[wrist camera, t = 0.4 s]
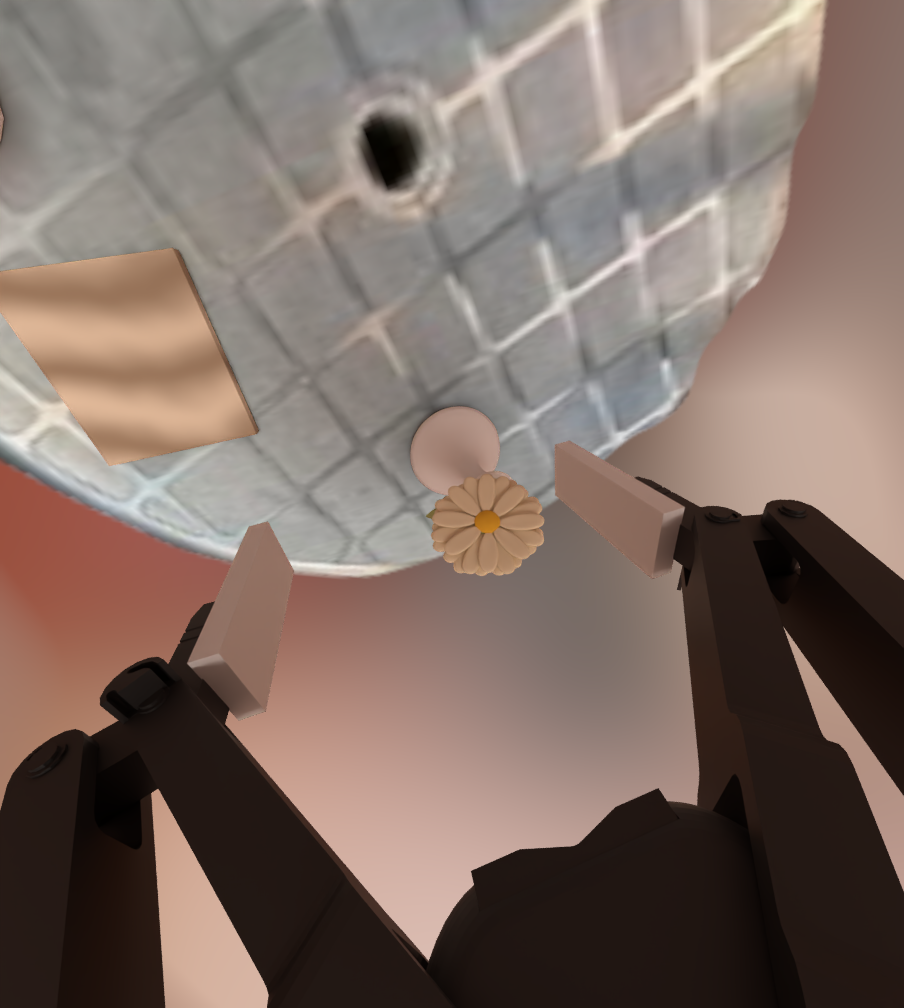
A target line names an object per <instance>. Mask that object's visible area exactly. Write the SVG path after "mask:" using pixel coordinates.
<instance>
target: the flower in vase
mask: <svg viewBox="0 0 904 1008" xmlns="http://www.w3.org/2000/svg"><path fill="white" fill-rule="evenodd" d="M499 454H500V443H499V437H498V433H497V430H496V428H495V426H494V425H493V423H492V422H491V421H490V419H489V418H488V417H487V416H486V415H484V414H483V413H481V412H480V411H478V410H476V409H473V408H469V407H463V406H456V407H449V408H445V409H443V410H440V411H438V412H436V413H434V414H433V415H431V416H430V417H429V418H428V419H426V420H425V421H424V422H423V424H422V425H421V426H420V427H419V429H418V430H417V432H416V434H415V436H414V438H413V441H412V445H411V451H410V458H411V465H412V468H413V471H414V473H415V475H416V477H417V478H418V479H419V481H420V482H421V483H422V484H423V485H424V486H425V487H427V488H428V489H430V490H432V491H434V492H437V493H439V494H444V495H449V496H445V497H444V498H443V499H441V500H438V501H436V503H435V509H434V510H432V511H431V512H430V513H429V514H427V515H426V517H428V518H431V519H432V520H433V522H434V524H433V526H432V529H433V532H432V534H431V537H432V539H433V540H434V541H435V542H434V543H433V548H434V549H435V550H436V551H438V552H444V551H445V553H444V555H443V558H444V560H445V561H446V562H449V563H453V562H454V570H455V571H456V572H458V573H464V572H465V573H468V574H473V573H476V574H477V575H479V576H484V575H486V574H487V573H490V572H493V573H494V574H495V575H503V574H504V573H505V574H510V573H512V572H513V571H514V570H515V568H518V567H520V566H521V564H522V559H526V558H528V557H529V555H530V554H533V553H534V552H535V551H536V546H540V545H542V544H543V542H544V538H543V531H542V530H541V529H539V527H541V526H542V525H543V524H544V518H543V517H542V516H541V515H540V514H539V513H540V512H541V511H542V506H541V504H540V503H539V501H538V499H537V498H536V497H528V491H527V490H525V488H524V487H523V486H521V485H517V483H516V481H514V480H512V479H511V477H510V476H508V475H507V474H505V473H503V472H500V471H494V469H495V467H496V465H497V462H498V459H499Z"/></svg>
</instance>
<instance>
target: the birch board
mask: <svg viewBox="0 0 904 1008" xmlns="http://www.w3.org/2000/svg"><path fill="white" fill-rule="evenodd" d="M0 312H1V314H2V315H3V316H4V318H5V319H6V321H7V322H8V324H9V325H10V326H11V328H12V329H13V331H14V332H15V333H16V335H17V336H18V338H19V339H20V340H21V342H22V343H23V345H24V346H25V348H26V349H27V350H28V352H29V353H30V355H31V356H32V357H33V359H34V360H35V362H36V363H37V365H38V366H39V367H40V369H41V370H42V372H43V373H44V374H45V376H46V377H47V379H48V380H49V382H50V383H51V384H52V386H53V387H54V389H55V390H56V391H57V393H58V394H59V396H60V397H61V398H62V400H63V401H64V403H65V404H66V406H67V407H68V408H69V410H70V411H71V413H72V414H73V415H74V417H75V418H76V420H77V421H78V423H79V424H80V425H81V427H82V428H83V430H84V431H85V432H86V434H87V435H88V437H89V438H90V439H91V441H92V442H93V444H94V445H95V447H96V448H97V449H98V451H99V452H100V454H101V455H102V456H103V458H104V459H105V461H106V462H107V464H108V465H109V466H112V465H116V464H121V463H126V462H130V461H135V460H139V459H144V458H149V457H153V456H158V455H162V454H167V453H172V452H176V451H181V450H185V449H190V448H195V447H199V446H204V445H208V444H213V443H218V442H222V441H227V440H232V439H236V438H241V437H245V436H250V435H255V434H257V433H258V431H259V430H258V428H257V426H256V423H255V421H254V419H253V417H252V414H251V412H250V410H249V408H248V405H247V403H246V401H245V399H244V396H243V394H242V392H241V390H240V387H239V385H238V383H237V381H236V378H235V376H234V374H233V372H232V369H231V367H230V365H229V363H228V360H227V358H226V356H225V354H224V351H223V349H222V347H221V345H220V343H219V340H218V338H217V336H216V334H215V331H214V329H213V327H212V325H211V322H210V320H209V318H208V316H207V313H206V311H205V309H204V307H203V304H202V302H201V300H200V298H199V295H198V293H197V291H196V289H195V286H194V284H193V282H192V280H191V277H190V275H189V273H188V271H187V268H186V266H185V264H184V262H183V259H182V257H181V255H180V253H179V250H176V249H174V248H169V249H162V250H154V251H147V252H140V253H132V254H125V255H117V256H110V257H103V258H95V259H88V260H80V261H73V262H66V263H58V264H51V265H43V266H36V267H29V268H21V269H14V270H6V271H0Z"/></svg>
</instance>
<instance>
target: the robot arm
mask: <svg viewBox="0 0 904 1008" xmlns="http://www.w3.org/2000/svg"><path fill="white" fill-rule="evenodd" d="M555 495H556V496H557V497H558V498H559V499H560V500H562V501H563V502H564V503H565V504H566V505H568V506H569V507H570V508H571V509H572V510H573V511H574V512H576V513H577V514H578V515H579V516H580V517H581V518H582V519H583V520H585V521H586V522H587V523H588V524H589V525H590V526H592V527H593V528H594V529H595V530H596V531H597V532H598V533H599V534H601V535H602V536H603V537H604V538H605V539H606V540H608V541H609V542H610V543H611V544H612V545H613V546H614V547H616V548H617V549H618V550H619V551H620V552H621V553H622V554H624V555H625V556H626V557H627V558H628V559H629V560H630V561H632V562H633V563H634V564H635V565H636V566H637V567H639V568H640V569H641V570H642V571H643V572H644V573H645V574H647V575H648V576H649V577H650V578H651V579H654V578H657V577H659V576H662V575H665V574H668V573H670V572H671V569H672V564H673V560H674V559H675V560H676V561H677V562H679V563H680V564H681V565H683V566H682V571H681V575H680V579H679V584H678V588H677V590H681V588H682V593H683V602H684V613H685V623H686V634H687V645H688V655H689V666H690V676H691V687H692V697H693V708H694V718H695V729H696V739H697V749H698V760H699V787H698V800H697V801H698V802H697V806H696V805H692V804H687V803H681V802H670V801H669V802H667V801H666V799H665V798H664V796H663V794H662V793H661V791H660V790H659V788H658V789H655V790H653V791H651V792H649V793H647V794H644V795H642V796H640V797H637V798H635V799H633V800H631V801H628V802H626V803H624V804H621V805H619V806H617V807H615V808H614V809H613V810H612V811H611V812H610V813H609V814H608V815H607V816H606V817H605V818H604V819H603V820H602V821H601V822H600V823H599V824H598V825H597V826H596V827H595V828H594V829H593V830H592V831H591V832H590V833H589V834H588V835H587V836H586V837H585V838H584V839H583V840H582V841H581V842H580V843H579V844H577V845H575V846H571V847H553V848H536V849H520V850H517V851H515V852H513V853H511V854H508V855H506V856H504V857H502V858H500V859H497V860H495V861H493V862H490V863H488V864H486V865H484V866H481V867H479V868H477V869H474V870H472V871H471V873H472V877H473V882H474V886H473V887H472V888H471V889H469V891H467V892H466V893H465V894H464V896H463V897H462V898H461V899H460V901H459V902H458V903H457V904H456V906H455V907H454V908H453V910H452V912H451V913H450V915H449V917H448V918H447V920H446V921H445V924H444V925H443V928H442V930H441V932H440V934H439V936H438V938H437V940H436V943H435V946H434V949H433V951H432V954H431V957H430V959H429V961H428V960H427V959H426V957H425V956H424V955H423V954H422V953H421V952H420V950H419V949H418V948H417V947H416V946H415V945H414V944H413V942H412V941H411V940H410V939H409V938H408V937H407V936H406V934H405V933H404V932H403V931H402V930H401V929H400V928H399V927H398V926H397V924H396V923H395V922H394V921H393V920H392V919H391V918H390V917H389V915H387V913H386V912H385V911H384V910H383V909H382V907H381V906H380V905H379V904H378V903H377V902H376V901H375V899H374V898H373V897H372V896H371V895H370V893H368V891H367V890H366V889H365V888H364V886H363V885H362V884H361V883H360V882H359V880H358V879H357V878H356V877H355V876H354V875H353V873H352V872H351V871H350V870H349V869H348V868H347V867H346V865H345V864H344V863H343V862H342V861H341V859H340V858H339V857H338V856H337V855H336V854H335V852H334V851H333V850H332V849H331V848H330V846H329V845H328V844H327V843H326V842H325V841H324V839H323V838H322V837H321V836H320V835H319V834H318V832H317V831H316V830H315V829H314V828H313V826H312V825H311V824H310V823H309V822H308V821H307V820H306V818H305V817H304V816H303V815H302V814H301V812H300V811H299V810H298V809H297V808H296V807H295V805H294V804H293V803H292V802H291V801H290V799H289V798H288V797H287V796H286V795H285V794H284V792H283V791H282V790H281V789H280V788H279V787H278V785H277V784H276V783H275V782H274V781H273V780H272V778H270V776H269V775H268V774H267V772H266V771H265V770H264V769H263V768H262V767H261V765H260V764H259V763H258V762H257V761H256V760H255V758H254V757H253V756H252V755H251V754H250V753H249V751H248V750H247V749H246V748H245V747H244V746H243V745H242V743H241V742H240V741H239V740H238V739H237V737H236V736H235V735H234V734H233V733H232V731H231V730H230V729H229V728H228V727H227V726H226V725H225V722H226V719H227V715H228V712H229V710H230V712H231V713H232V714H233V715H234V716H235V717H236V718H237V719H238V720H242V719H245V718H248V717H251V716H254V715H257V714H260V713H263V712H266V707H267V702H268V697H269V692H270V687H271V682H272V677H273V672H274V667H275V662H276V657H277V652H278V647H279V642H280V637H281V632H282V627H283V623H284V618H285V612H286V607H287V602H288V597H289V593H290V588H291V582H292V578H293V573H294V570H293V568H292V566H291V564H290V562H289V561H288V559H287V557H286V555H285V553H284V551H283V549H282V547H281V545H280V543H279V542H278V540H277V538H276V536H275V534H274V532H273V530H272V528H271V526H270V524H269V523H268V522H264V523H260V524H257V525H253V526H249V527H248V530H247V532H246V534H245V536H244V538H243V541H242V543H241V545H240V547H239V550H238V552H237V554H236V556H235V558H234V561H233V563H232V565H231V567H230V570H229V572H228V574H227V576H226V578H225V580H224V583H223V585H222V587H221V589H220V592H219V594H218V596H217V598H216V600H215V601H214V602H211V603H207V604H204V605H203V606H202V607H201V608H200V609H199V610H198V611H197V613H196V614H195V615H194V616H193V617H192V618H191V620H190V623H189V624H188V626H187V628H186V630H185V631H186V633H184V634H183V636H182V638H181V640H180V644H178V647H177V648H176V650H175V652H174V654H173V656H172V658H171V660H170V662H169V664H167V663H166V662H165V661H164V660H163V659H161V658H159V657H151V658H147V659H144V660H142V661H139V662H137V663H135V664H134V665H132V666H130V667H128V668H127V669H125V670H124V671H123V672H121V673H120V674H119V675H118V676H116V677H115V678H114V679H113V680H112V681H111V682H110V684H109V685H108V686H107V687H106V688H105V689H104V691H103V693H102V695H101V697H100V706H101V707H103V708H104V709H105V710H106V711H108V712H109V713H110V714H111V715H113V716H114V717H115V718H116V719H118V720H119V721H117V722H115V723H114V724H112V725H110V726H108V727H106V728H105V729H103V730H101V731H99V732H98V733H96V734H94V735H92V736H90V737H89V736H88V735H87V734H85V733H84V732H83V731H80V730H76V729H74V730H69V731H65V732H63V733H61V734H59V735H57V736H54V737H52V738H51V739H49V740H48V741H46V742H45V743H43V744H42V745H41V746H39V747H38V748H37V749H35V750H34V751H33V752H32V753H31V754H29V755H28V757H26V758H25V759H24V760H23V762H22V763H21V764H20V765H19V767H18V768H17V769H16V770H15V772H14V773H13V774H12V776H11V778H10V780H9V782H8V784H7V788H6V792H5V795H4V799H3V803H2V806H1V810H0V1008H165V996H164V982H163V966H162V951H161V937H160V936H161V935H160V922H159V921H160V920H159V906H158V890H157V875H156V860H155V844H154V830H153V815H152V799H151V793H152V792H153V791H155V790H156V789H159V790H160V792H161V794H162V796H163V798H164V800H165V801H166V803H167V805H168V807H169V809H170V811H171V812H172V814H173V816H174V818H175V819H176V821H177V823H178V825H179V827H180V829H181V831H182V833H183V834H184V836H185V838H186V840H187V841H188V844H189V845H190V847H191V849H192V851H193V853H194V854H195V856H196V858H197V860H198V862H199V864H200V865H201V867H202V869H203V871H204V873H205V875H206V876H207V878H208V880H209V882H210V884H211V885H212V887H213V889H214V891H215V893H216V895H217V897H218V898H219V900H220V902H221V904H222V905H223V907H224V909H225V911H226V913H227V915H228V917H229V919H230V920H231V922H232V924H233V926H234V928H235V929H236V931H237V933H238V935H239V937H240V938H241V940H242V942H243V944H244V946H245V948H246V950H247V951H248V953H249V955H250V957H251V959H252V961H253V962H254V964H255V966H256V968H257V970H258V971H259V973H260V975H261V977H262V979H263V981H264V983H265V985H266V987H267V991H268V994H269V997H268V1004H267V1008H904V891H903V889H902V886H901V884H900V881H899V879H898V876H897V874H896V871H895V869H894V866H893V864H892V862H891V859H890V856H889V854H888V851H887V849H886V846H885V844H884V841H883V839H882V836H881V834H880V831H879V829H878V826H877V824H876V821H875V818H874V816H873V814H872V811H871V808H870V806H869V803H868V801H867V798H866V796H865V793H864V791H863V788H862V786H861V783H860V781H859V778H858V776H857V773H856V771H855V768H854V766H853V764H852V762H851V760H850V758H849V756H848V754H847V752H846V751H845V750H844V749H843V748H842V747H841V746H840V745H839V744H837V743H834V742H831V741H828V740H826V738H824V737H823V735H822V733H821V730H820V728H819V725H818V723H817V720H816V717H815V714H814V711H813V709H812V706H811V703H810V700H809V698H808V695H807V692H806V689H805V686H804V684H803V681H802V678H801V675H800V672H799V669H798V667H797V664H796V661H795V658H794V655H793V653H792V650H791V647H790V644H789V641H788V639H787V636H786V633H785V630H784V628H785V629H786V631H787V632H788V634H789V635H790V636H791V638H792V639H793V641H794V642H795V643H796V645H797V646H798V648H799V649H800V650H801V652H802V653H803V655H804V656H805V658H806V659H807V660H808V662H809V663H810V664H811V666H812V667H813V669H814V670H815V671H816V673H817V674H818V676H819V677H820V679H821V680H822V681H823V683H824V684H825V686H826V687H827V688H828V690H829V691H830V693H831V694H832V696H833V697H834V698H835V700H836V701H837V703H838V704H839V705H840V707H841V708H842V710H843V711H844V712H845V714H846V715H847V717H848V718H849V719H850V721H851V722H852V724H853V725H854V726H855V728H856V729H857V731H858V732H859V733H860V735H861V736H862V738H863V739H864V741H865V742H866V743H867V745H868V746H869V747H870V749H871V750H872V752H873V753H874V754H875V756H876V757H877V759H878V760H879V762H880V763H881V765H882V766H883V767H884V769H885V770H886V772H887V773H888V774H889V776H890V777H891V779H892V780H893V781H894V783H895V784H896V786H897V787H898V788H899V790H900V791H901V793H902V794H903V795H904V580H903V579H902V578H900V577H899V576H898V575H897V574H896V573H894V572H893V571H892V570H891V569H890V568H888V567H887V566H886V565H885V564H884V563H882V562H881V561H880V560H879V559H878V558H876V557H875V556H874V555H873V554H871V553H870V552H869V551H868V550H866V549H865V548H864V547H863V546H862V545H861V544H859V543H858V542H857V541H856V540H854V539H853V538H852V537H851V536H849V535H848V534H847V533H846V532H845V531H843V530H842V529H841V528H840V527H839V526H837V525H836V524H835V523H834V522H833V521H831V520H830V519H829V518H828V517H826V516H825V515H824V514H823V513H821V512H820V511H819V510H818V509H816V508H814V507H813V506H811V505H808V504H805V503H803V502H799V501H795V500H775V501H771V502H769V503H767V504H766V507H765V509H764V513H763V514H762V515H750V516H742V515H741V514H739V513H738V512H736V511H734V510H731V509H728V508H725V507H719V506H706V507H699V506H697V505H695V504H693V503H692V502H689V501H688V500H686V499H684V498H682V497H681V496H679V495H677V494H675V493H673V492H672V493H671V491H670V490H668V489H666V488H662V486H661V485H659V484H657V483H655V482H653V481H652V480H648V479H645V478H641V477H635V478H633V477H632V476H630V475H628V474H626V473H624V472H623V471H621V470H619V469H618V468H616V467H614V466H612V465H611V464H609V463H607V462H606V461H604V460H602V459H600V458H599V457H597V456H595V455H593V454H592V453H590V452H588V451H586V450H585V449H583V448H581V447H579V446H578V445H576V444H574V443H572V442H571V441H567V442H563V443H560V444H556V445H555ZM799 566H800V568H799Z"/></svg>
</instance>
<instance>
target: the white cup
mask: <svg viewBox="0 0 904 1008" xmlns="http://www.w3.org/2000/svg"><path fill="white" fill-rule="evenodd" d="M3 121H4V117H3V114H2V111H1V108H0V142H1V135H2V128H3Z"/></svg>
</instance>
